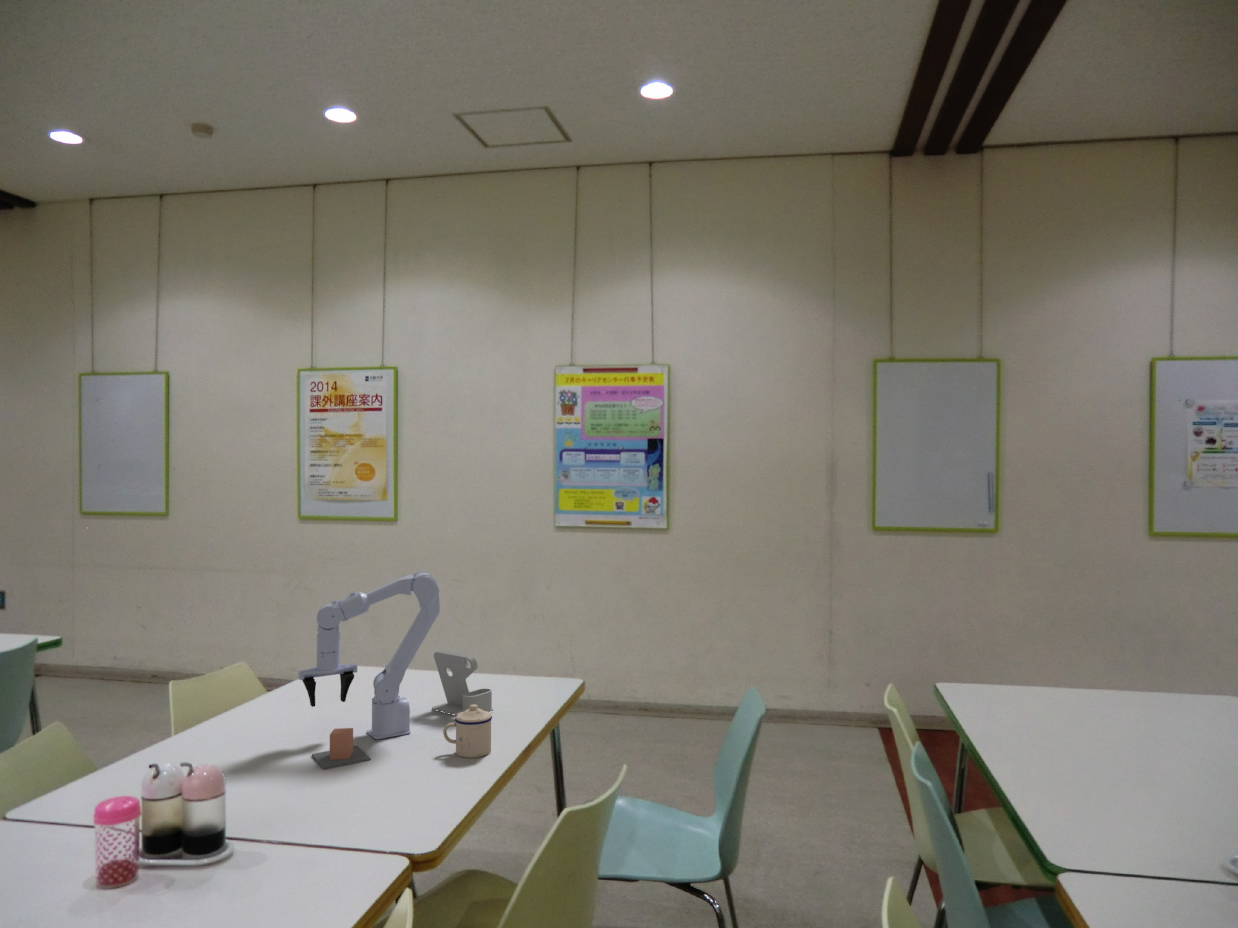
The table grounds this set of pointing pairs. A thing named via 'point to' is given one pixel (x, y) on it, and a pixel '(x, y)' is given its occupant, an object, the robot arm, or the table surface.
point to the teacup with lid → (472, 733)
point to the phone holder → (459, 683)
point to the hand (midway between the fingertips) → (328, 703)
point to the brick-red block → (341, 743)
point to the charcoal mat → (326, 763)
